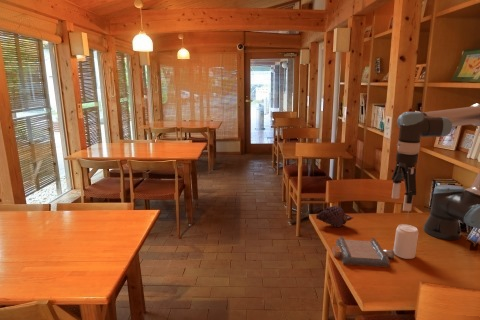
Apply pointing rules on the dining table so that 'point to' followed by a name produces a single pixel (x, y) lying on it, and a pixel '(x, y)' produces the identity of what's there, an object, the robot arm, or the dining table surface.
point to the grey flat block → (362, 252)
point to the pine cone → (333, 216)
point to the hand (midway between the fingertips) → (400, 204)
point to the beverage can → (405, 241)
